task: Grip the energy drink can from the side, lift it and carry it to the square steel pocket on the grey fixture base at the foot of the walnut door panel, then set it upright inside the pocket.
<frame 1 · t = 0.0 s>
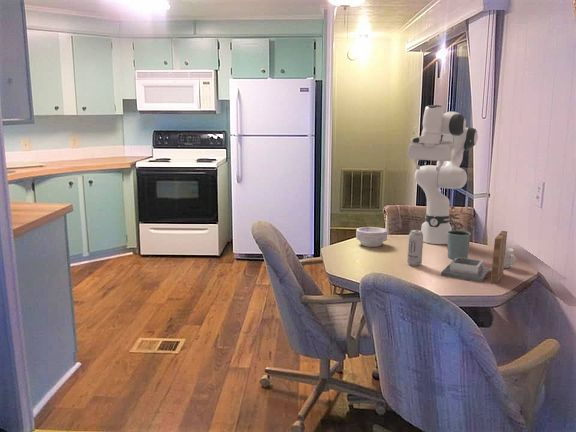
hand: (427, 170, 241), 39 cm above the table, tool pointing down, fingers open, 8 cm apart
door panel: (496, 278, 208), on the table
grey fixture base: (466, 273, 214), on the table
energy drink can: (414, 265, 225), on the table
cup: (504, 268, 223), on the table
green tapered pot: (456, 258, 237), on the table
paper bowls: (371, 245, 258), on the table
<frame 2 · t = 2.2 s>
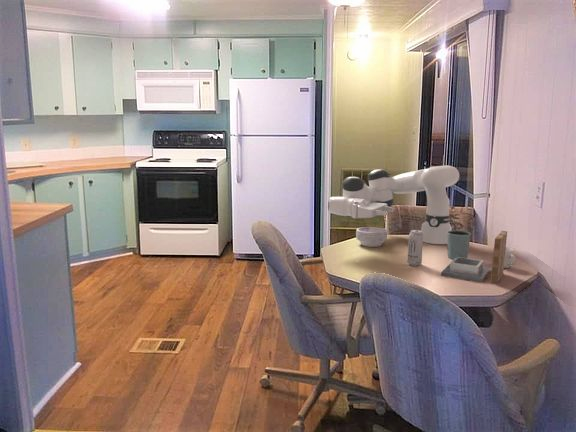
hand: (389, 211, 227), 22 cm above the table, tool horizontal, fingers open, 8 cm apart
nothing on the table moved.
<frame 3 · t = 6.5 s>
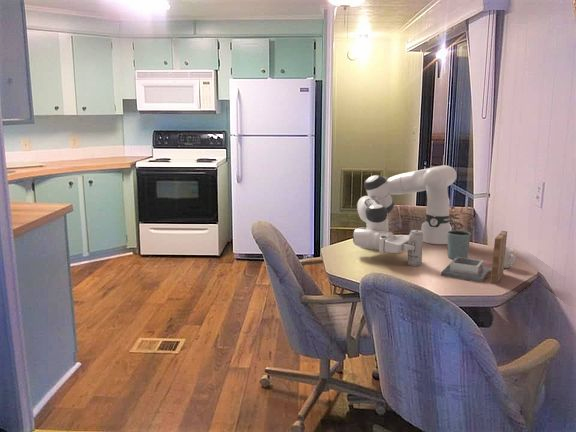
hand: (417, 246, 223), 9 cm above the table, tool horizontal, fingers closed on energy drink can, 6 cm apart
energy drink can: (414, 265, 225), on the table, touching gripper
everything else where it was.
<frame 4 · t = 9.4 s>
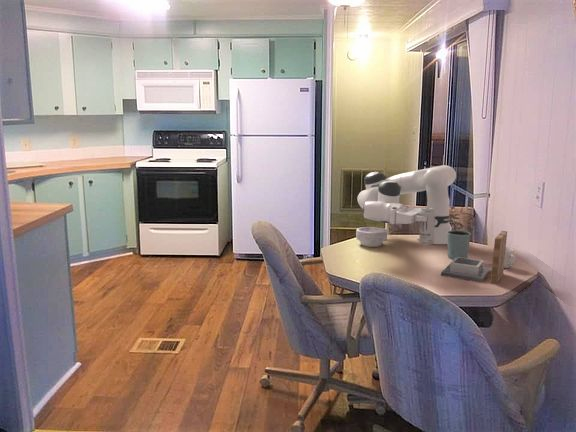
hand: (429, 217, 217), 22 cm above the table, tool horizontal, fingers closed on energy drink can, 6 cm apart
energy drink can: (426, 243, 219), point 10 cm above the table, touching gripper
everything else where it was.
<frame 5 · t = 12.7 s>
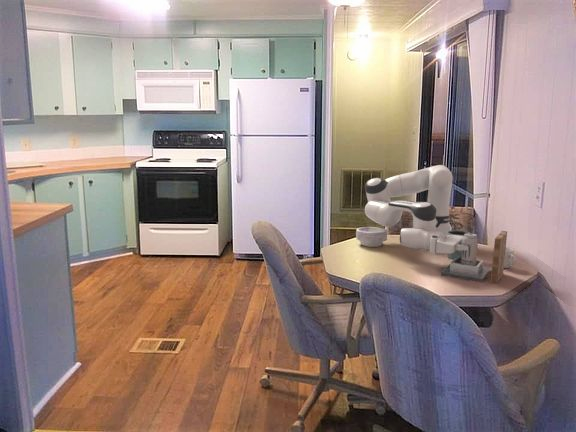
hand: (470, 246, 211), 12 cm above the table, tool horizontal, fingers closed on energy drink can, 6 cm apart
energy drink can: (467, 270, 213), point 1 cm above the table, touching gripper, grey fixture base
everything else where it was.
when the fingers open (12 cm above the table, at t = 13.2 s): energy drink can stays where it is, resting on grey fixture base.
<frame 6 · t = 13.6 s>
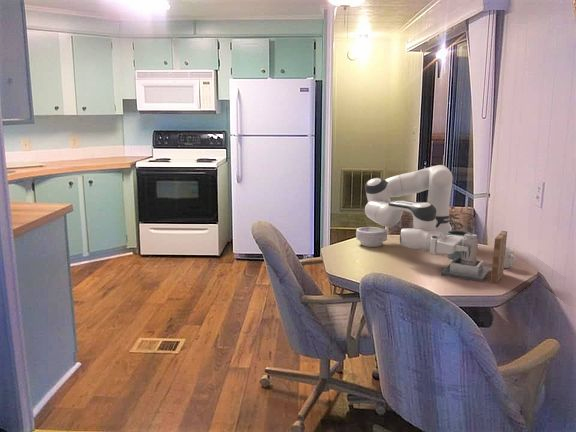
hand: (470, 246, 211), 12 cm above the table, tool horizontal, fingers open, 8 cm apart
energy drink can: (467, 270, 213), point 1 cm above the table, touching grey fixture base
everything else where it was.
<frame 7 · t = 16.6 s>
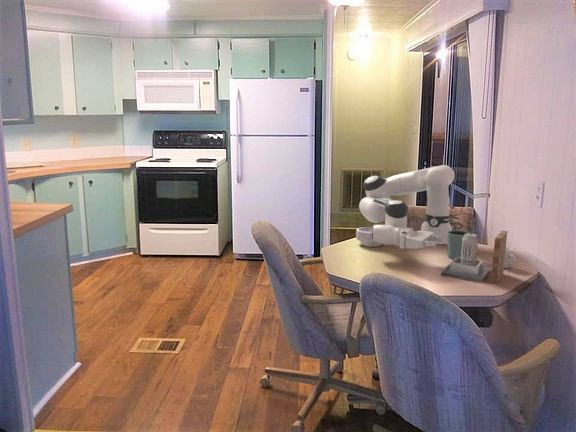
hand: (439, 241, 218), 12 cm above the table, tool horizontal, fingers open, 8 cm apart
nothing on the table moved.
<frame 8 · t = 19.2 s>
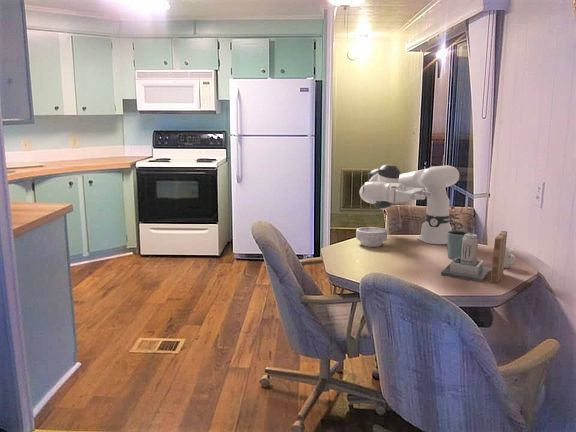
hand: (428, 196, 221), 30 cm above the table, tool horizontal, fingers open, 8 cm apart
nothing on the table moved.
at the end: energy drink can 0.6 cm from the grey fixture base (horizontally); energy drink can tilted 0°; the gripper is holding nothing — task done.
